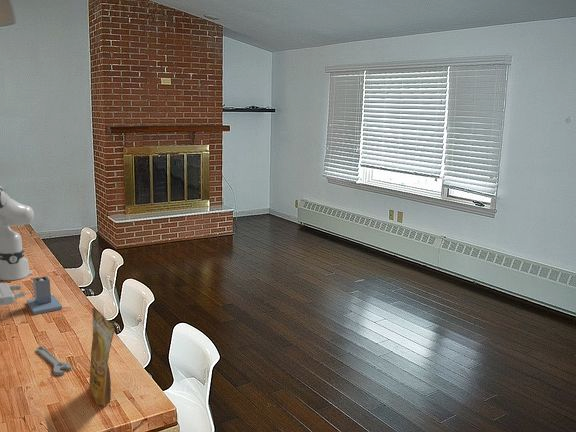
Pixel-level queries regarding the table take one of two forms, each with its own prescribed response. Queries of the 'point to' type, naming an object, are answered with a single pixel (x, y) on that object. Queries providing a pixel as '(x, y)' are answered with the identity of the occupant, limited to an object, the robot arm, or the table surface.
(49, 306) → the shaft base
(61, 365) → the adjustable wrench
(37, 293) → the steel collar
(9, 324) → the table surface
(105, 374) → the pancake mix bag
